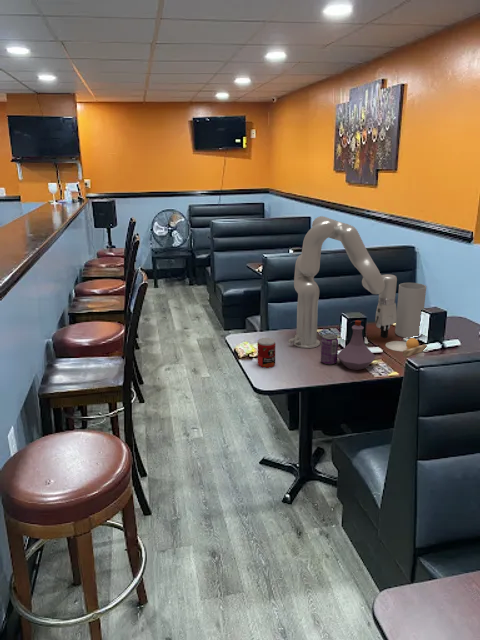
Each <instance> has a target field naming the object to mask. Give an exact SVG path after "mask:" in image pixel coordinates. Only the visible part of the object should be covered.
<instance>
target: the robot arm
mask: <svg viewBox="0 0 480 640" xmlns="http://www.w3.org/2000/svg"><path fill="white" fill-rule="evenodd" d="M311 225H312V227H311V228H310V229H309V230H308V231H307V233H306V234H305V236H304V238H303V242H302V249H301V254H299V255H298V256H297V258H296V260H295V266H294V277H293V279H294V280H293V287H294V291H295V292H296V293H297V303H296V304H297V306H296V307H297V308H296V334H295V335H294V337H293V338H288V340H287V341H288V343H289V344H293V346H296V347H297V348H301V349H313V348H317V347H318V346H320V345H321V341H320V340H319V339H318V338H317V337H318V314H319V313H318V311H319V310H318V305H319V297H320V287H319V285H318V283H317V282H316V281H315V280H314V279H315V276H316V275H317V274H318V273H319V271H320V266H321V255H322V254H321V253H322V247H323V244H324V242H325V241H326V240H327V239H332V240H335V241H339V242H341V245H342V247H343V248H344V250H345V252H346V254H347V257H348V259H349V260H350V262H351V264H352V265H353V266H354V268H356V269H357V271H358V272H359V273H360V274H361V276H362V278H361V279H362V280H361V285H362V286H363V288H364V289H365V290H367V291H368V292H370V293H371V294H372V295H378V299H377V303H378V304H377V306H376V311H375V319H374V320H375V321H374V322H375V324H376V325H375V327H376V328H379V330H380V336H379V337H380V338H381V339H382V338H383V339H387V338H388V337H389V336H388V335H389V330H390V327H391V326H392V325H394V324H396V319H397V303H396V296H397V295H396V293H397V284H398V283H397V281H398V279H397V275H394V274H391V273H390V274H382V273H380V272H381V271H380V270H379V268H378V267H377V265H376V263H375V262H374V259H372V257H371V255H370V253H369V251H368V249H367V248H366V245H365V243H364V241H363V240H362V238H361V235H360V233H359V231H358V229H357V228H356V227H354V226H353V225H352V224H348V223H345V222H342V221H338V220H335V219H332V218H329V217H327V216H323V215H321V216H318V217H316V218H314V220H313V221H312V223H311Z"/></svg>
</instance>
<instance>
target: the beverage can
mask: <svg viewBox="0 0 480 640" xmlns="http://www.w3.org/2000/svg"><path fill="white" fill-rule="evenodd" d="M320 345H321V347H320V349H321V350H320V362H321V363H323V364H325V365H334V364H336V363H337V362H338V357H337V355H338V354H339V352H338V351H339V339H338V335H336V334H333V333H325V334H323V335H322V338H321V341H320Z"/></svg>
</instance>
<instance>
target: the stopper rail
mask: <svg viewBox="0 0 480 640" xmlns="http://www.w3.org/2000/svg"><path fill="white" fill-rule="evenodd" d="M426 347H427V348H428V344H425V343H423V344H422V345H419V346H417V347H414V348H411V349H407V350H404V351H403V352H402V356H403V357H404V358H406V357H410V356H413V355H416V354H417V355H418V354H420V353H422V351H423V350H424V349H425V348H426ZM423 352H424V351H423Z"/></svg>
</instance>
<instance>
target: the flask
mask: <svg viewBox="0 0 480 640" xmlns="http://www.w3.org/2000/svg"><path fill="white" fill-rule="evenodd" d="M361 323H362V320H359V319H357V320H354V324H353V325H352V326H351V330H352V335H351V339H350V341H349V343H347V345H346V346H345V347H343V348H342V349H341V350H340V351H339V352H338V355H337V359H338V360H339V361H340V362H341V363H342V364H343V366H345V367H346V368H347V369H349V370H353V371H361V370H365V369H366V368H368V366H369V365H371V364H372V363H373V361H374V360H375V358H376V355H375V354H374V353H373V352H372V350H370V349H369V348H368V347H367V345H366V344H365V342H364V337H363V330H364V328H365V327H364V326H363V325H362V324H361Z"/></svg>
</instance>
